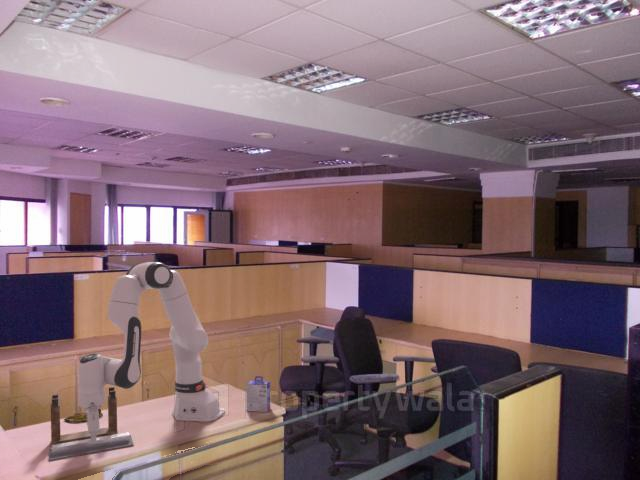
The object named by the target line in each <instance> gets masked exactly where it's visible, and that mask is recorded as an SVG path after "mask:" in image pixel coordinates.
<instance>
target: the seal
mask: <svg viewBox="0 0 640 480" xmlns="http://www.w3.org/2000/svg"><path fill="white" fill-rule="evenodd" d="M98 411H99V419H101V418H102V417H104V415H103V413H102V409H101V408H100V409H98ZM63 420H64V422H67V423H68V424H81V423H82V424H83V423H87V417H86V412H80V413H79V412H77V413H74V414H73V415H68V416H67V417H65V418H63Z"/></svg>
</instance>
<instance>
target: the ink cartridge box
mask: <svg viewBox="0 0 640 480" xmlns="http://www.w3.org/2000/svg"><path fill="white" fill-rule="evenodd" d="M259 378H260V379H259ZM245 388H246V389H245V390H246V391H245V392H246V394H245V395H246V398H245V399H246V401H245V403H246V404H245V406H246V410H245V411H246V412H262V413H268V412H269V410H271V381H270V380H269V381H268V380H267V381H266V380H265V381H264V376H262V375H261V376H259V375H255V378H254V380H249V381H248V382H247V383H246V387H245Z"/></svg>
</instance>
